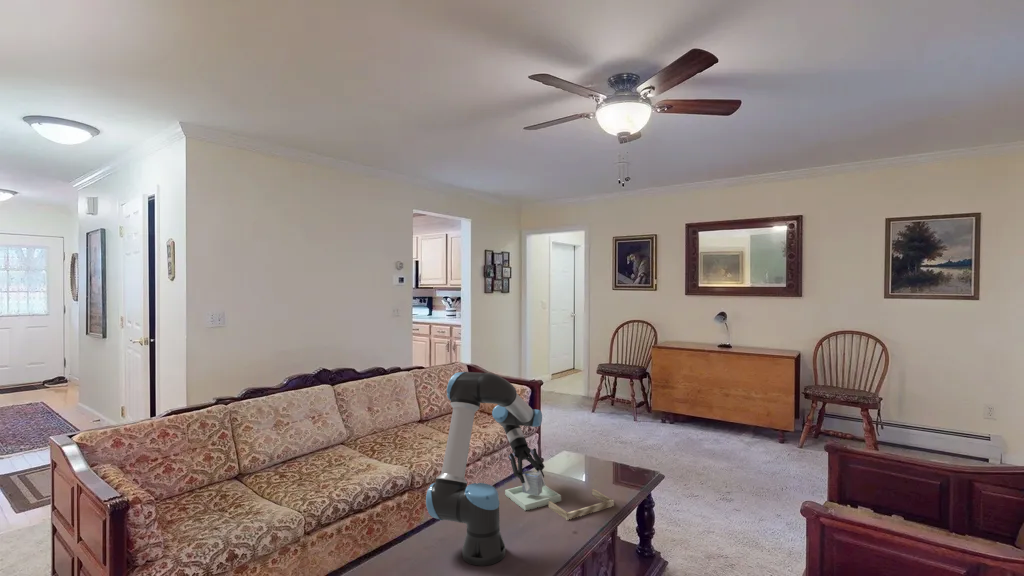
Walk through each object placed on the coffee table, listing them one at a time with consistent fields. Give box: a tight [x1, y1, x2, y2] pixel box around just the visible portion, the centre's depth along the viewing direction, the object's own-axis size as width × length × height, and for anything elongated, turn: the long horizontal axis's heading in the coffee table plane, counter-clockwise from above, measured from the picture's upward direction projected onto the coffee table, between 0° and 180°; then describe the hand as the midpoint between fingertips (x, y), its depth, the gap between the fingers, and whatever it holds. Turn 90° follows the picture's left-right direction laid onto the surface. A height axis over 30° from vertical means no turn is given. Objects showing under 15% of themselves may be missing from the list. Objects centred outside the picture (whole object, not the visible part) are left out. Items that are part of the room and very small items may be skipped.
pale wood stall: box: [548, 488, 615, 521], centre depth 209 cm, size 24×14×2 cm, turn 119°
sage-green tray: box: [504, 484, 562, 512], centre depth 219 cm, size 18×18×2 cm
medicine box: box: [521, 470, 542, 496], centre depth 219 cm, size 8×4×9 cm, turn 57°
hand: (536, 487), depth 216 cm, fingers closed on medicine box, 7 cm apart
